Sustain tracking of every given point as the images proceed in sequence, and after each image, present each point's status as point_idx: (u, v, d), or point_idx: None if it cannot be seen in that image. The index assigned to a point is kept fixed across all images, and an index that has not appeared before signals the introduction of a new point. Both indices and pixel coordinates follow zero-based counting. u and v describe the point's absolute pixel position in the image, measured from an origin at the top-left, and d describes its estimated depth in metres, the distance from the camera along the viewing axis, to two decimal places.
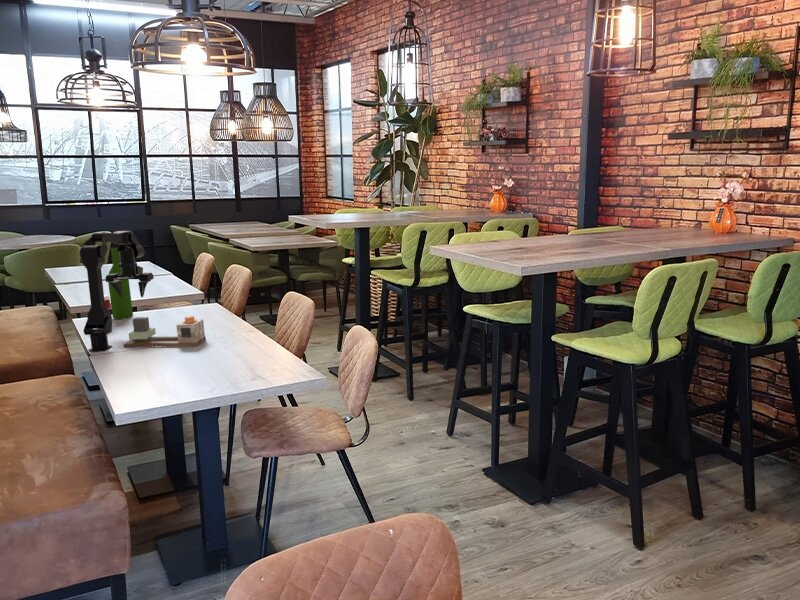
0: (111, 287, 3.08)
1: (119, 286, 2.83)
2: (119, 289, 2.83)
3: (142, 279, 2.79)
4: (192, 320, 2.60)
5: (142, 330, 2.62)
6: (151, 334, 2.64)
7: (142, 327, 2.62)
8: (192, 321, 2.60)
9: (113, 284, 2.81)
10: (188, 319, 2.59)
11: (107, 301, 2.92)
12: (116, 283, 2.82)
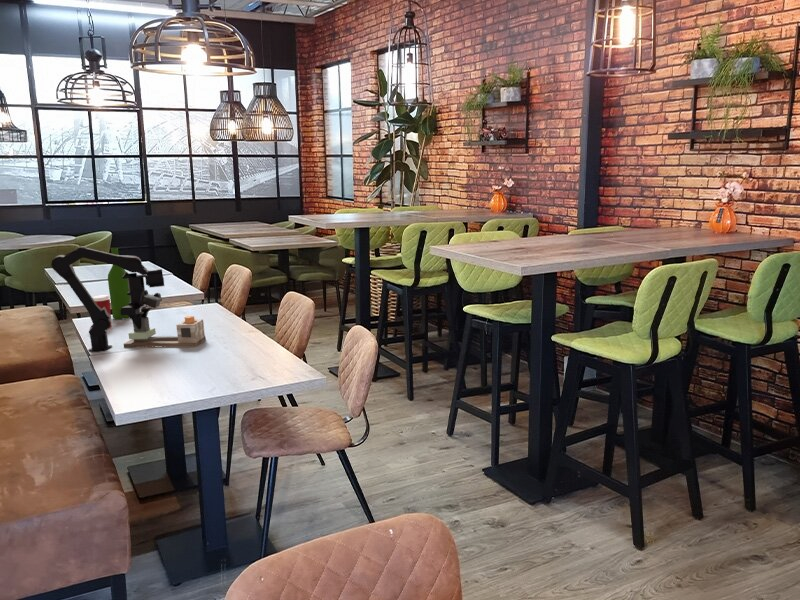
0: (111, 287, 3.08)
1: (142, 314, 2.64)
2: (140, 317, 2.65)
3: None
4: (192, 320, 2.60)
5: (142, 330, 2.62)
6: (151, 334, 2.64)
7: (142, 327, 2.62)
8: (192, 321, 2.60)
9: None
10: (188, 319, 2.59)
11: (107, 301, 2.92)
12: None
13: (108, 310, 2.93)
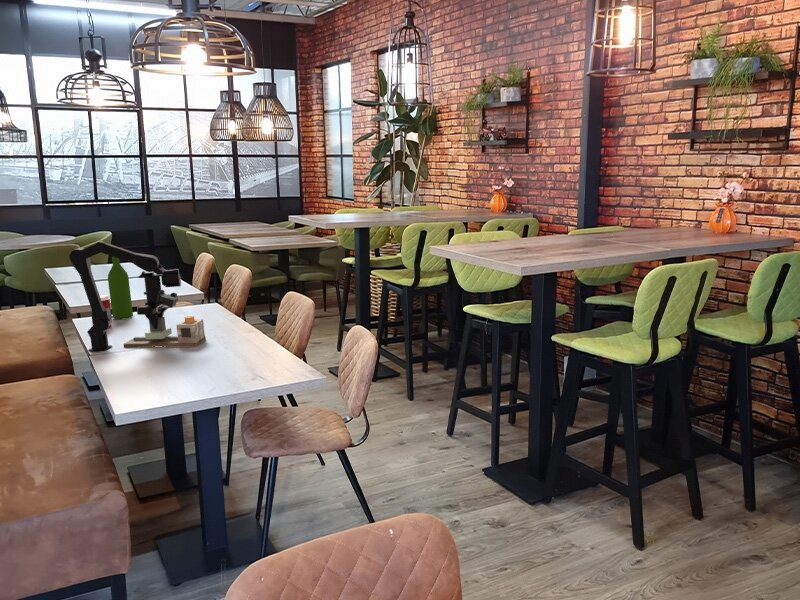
0: (111, 287, 3.08)
1: (158, 314, 2.64)
2: None
3: None
4: (192, 320, 2.60)
5: (158, 330, 2.61)
6: (167, 334, 2.63)
7: (158, 327, 2.61)
8: (192, 321, 2.60)
9: None
10: (188, 319, 2.59)
11: (107, 301, 2.92)
12: None
13: None
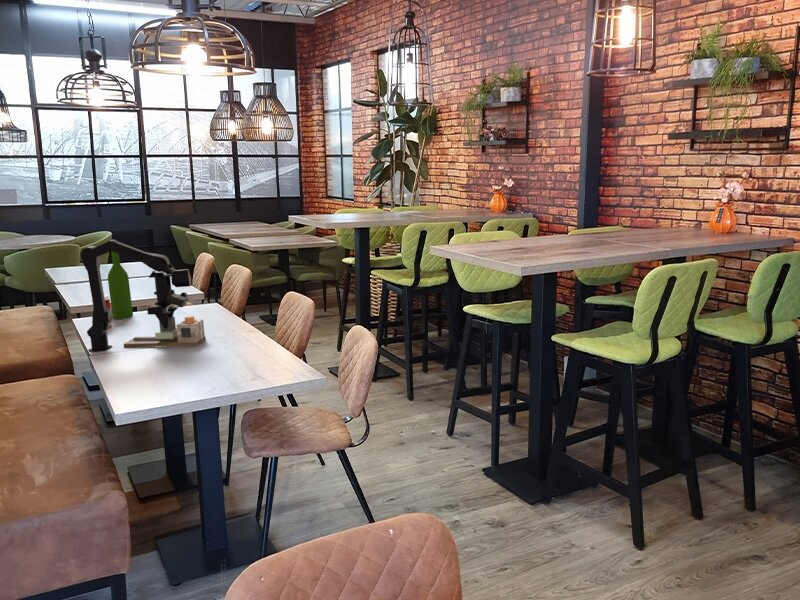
0: (111, 287, 3.08)
1: (168, 314, 2.63)
2: None
3: None
4: (192, 320, 2.60)
5: (168, 330, 2.61)
6: None
7: (168, 327, 2.61)
8: (192, 321, 2.60)
9: None
10: (188, 319, 2.59)
11: (107, 301, 2.92)
12: None
13: None
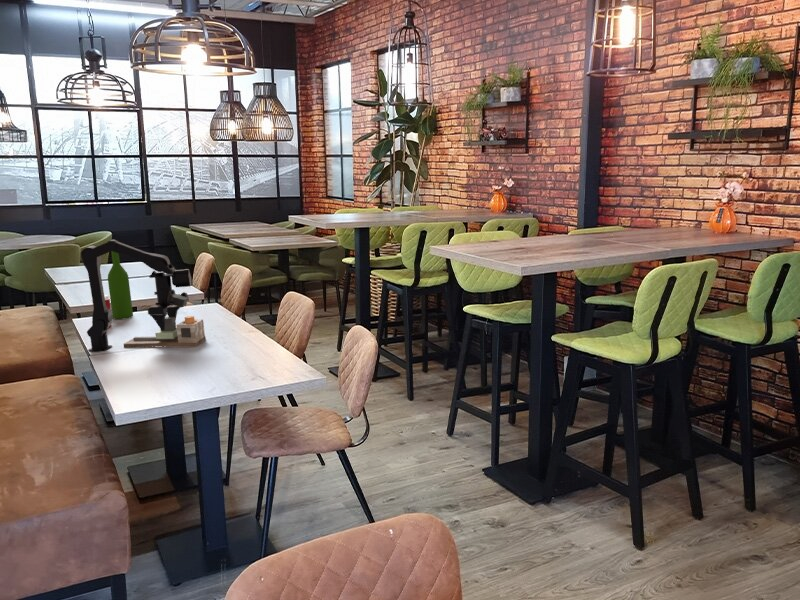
0: (111, 287, 3.08)
1: (172, 312, 2.66)
2: (170, 315, 2.66)
3: None
4: (192, 320, 2.60)
5: (169, 330, 2.61)
6: None
7: (169, 327, 2.61)
8: (192, 321, 2.60)
9: None
10: (188, 319, 2.59)
11: (107, 301, 2.92)
12: (167, 308, 2.66)
13: None
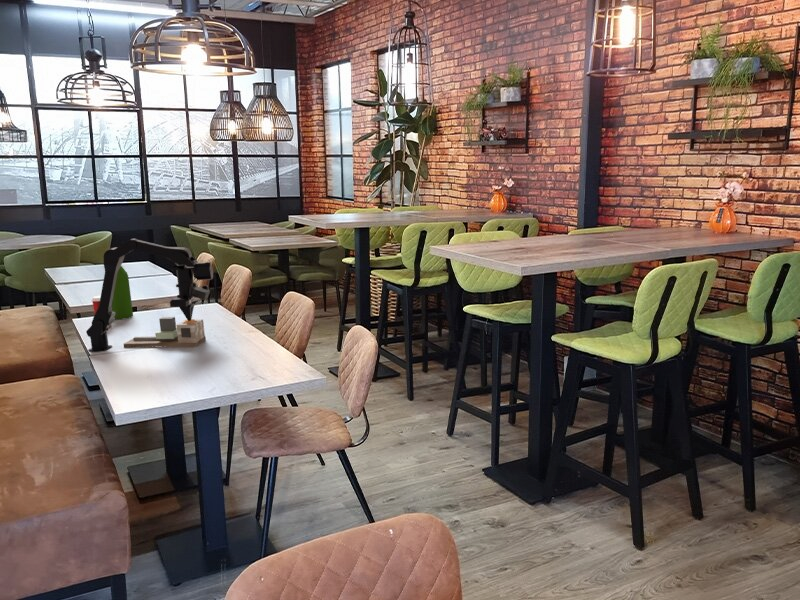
0: None
1: None
2: None
3: None
4: (192, 323, 2.60)
5: (169, 330, 2.61)
6: None
7: (169, 327, 2.61)
8: None
9: None
10: (188, 322, 2.59)
11: None
12: None
13: None
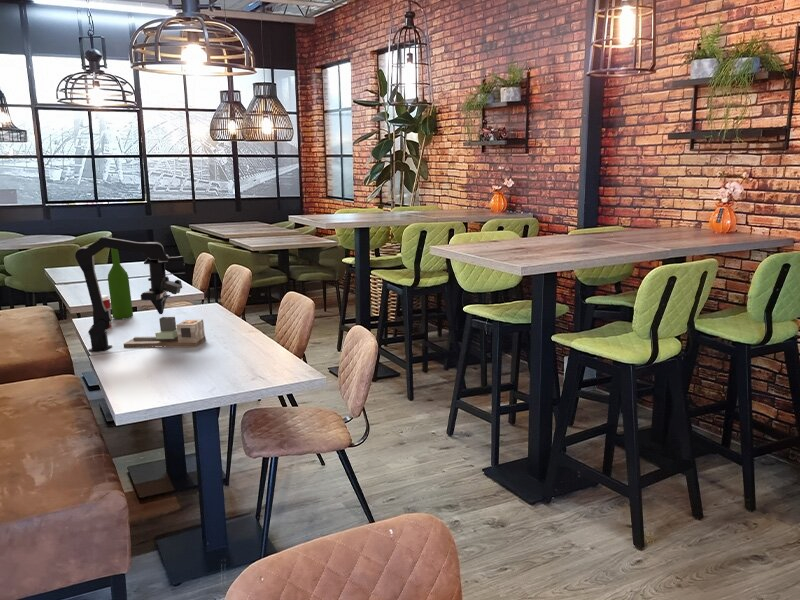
0: (111, 287, 3.08)
1: None
2: None
3: None
4: None
5: (169, 330, 2.61)
6: None
7: (169, 327, 2.61)
8: None
9: None
10: None
11: (107, 301, 2.92)
12: None
13: None
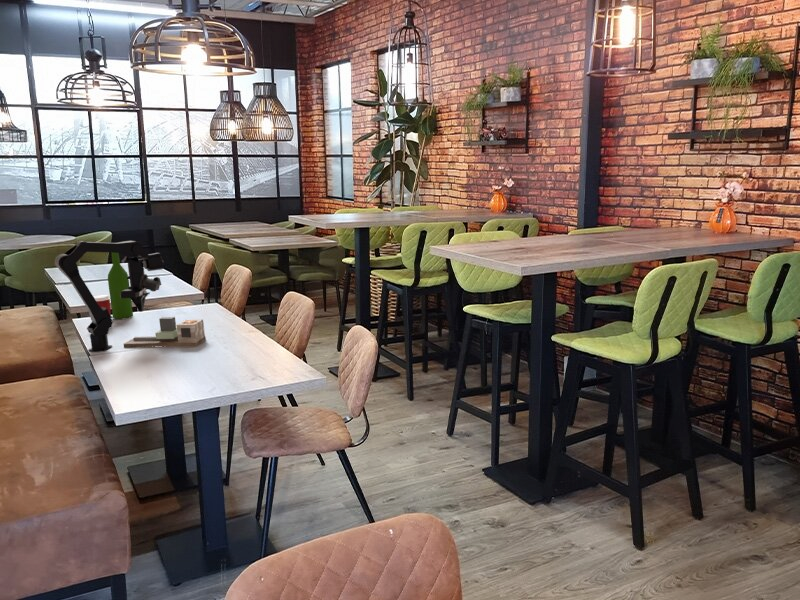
0: (111, 287, 3.08)
1: None
2: None
3: None
4: None
5: (169, 330, 2.61)
6: None
7: (169, 327, 2.61)
8: None
9: None
10: None
11: (107, 301, 2.92)
12: None
13: (108, 310, 2.93)
